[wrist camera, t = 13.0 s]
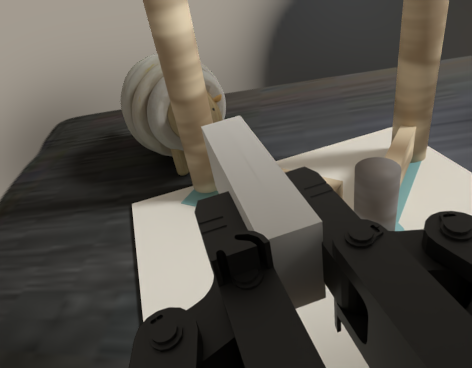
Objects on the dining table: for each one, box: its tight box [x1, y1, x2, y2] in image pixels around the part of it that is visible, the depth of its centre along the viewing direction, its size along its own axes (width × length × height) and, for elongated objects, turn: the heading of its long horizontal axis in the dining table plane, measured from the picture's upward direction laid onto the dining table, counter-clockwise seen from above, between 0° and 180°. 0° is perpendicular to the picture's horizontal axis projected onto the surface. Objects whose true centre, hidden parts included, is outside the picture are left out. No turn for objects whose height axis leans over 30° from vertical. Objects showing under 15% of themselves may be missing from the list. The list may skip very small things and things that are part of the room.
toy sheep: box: [121, 54, 226, 176], centre depth 40 cm, size 11×17×11 cm, turn 37°
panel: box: [143, 0, 343, 199], centre depth 26 cm, size 14×3×20 cm, turn 56°
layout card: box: [132, 127, 472, 368], centre depth 27 cm, size 28×26×1 cm
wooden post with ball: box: [354, 0, 449, 231], centre depth 25 cm, size 15×3×21 cm, turn 149°
